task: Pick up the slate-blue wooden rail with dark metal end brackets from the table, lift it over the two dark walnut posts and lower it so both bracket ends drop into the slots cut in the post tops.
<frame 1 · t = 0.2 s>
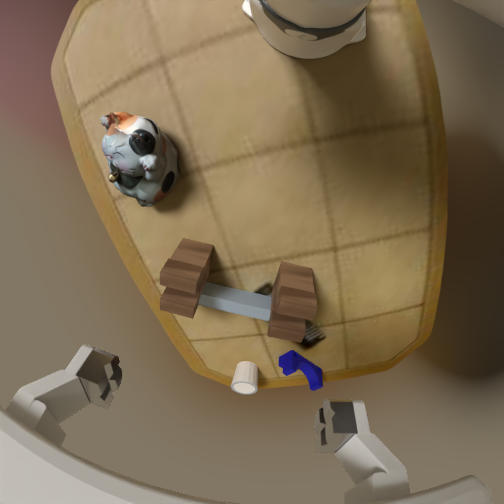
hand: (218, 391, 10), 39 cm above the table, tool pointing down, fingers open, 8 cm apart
cable clip: (301, 362, 69), on the table
headboard posts: (243, 268, 55), on the table
shot glass: (247, 366, 72), on the table
lucky cat figurine: (146, 151, 44), on the table
bed rail: (237, 294, 58), on the table
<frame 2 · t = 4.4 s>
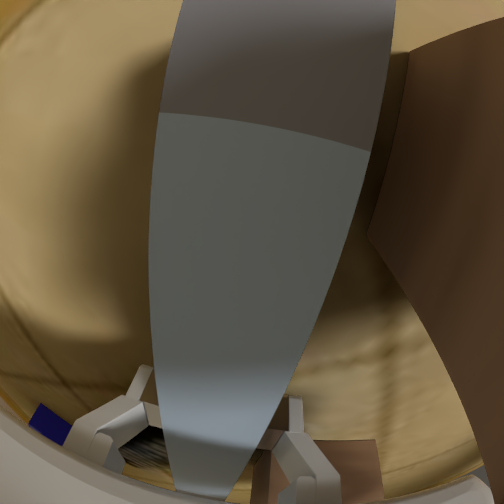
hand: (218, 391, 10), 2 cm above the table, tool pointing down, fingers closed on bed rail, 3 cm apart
cable clip: (56, 425, 21), on the table
headboard posts: (377, 379, 11), on the table
bed rail: (225, 361, 11), on the table, touching gripper
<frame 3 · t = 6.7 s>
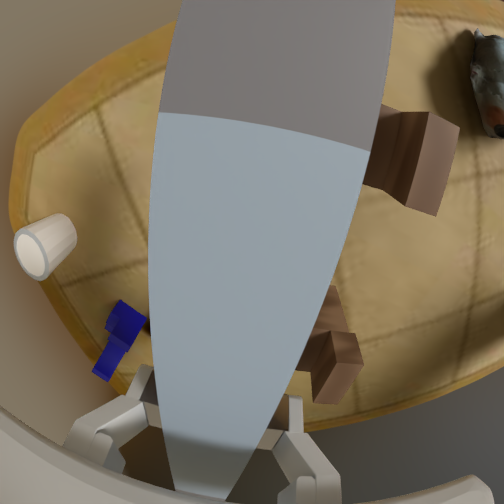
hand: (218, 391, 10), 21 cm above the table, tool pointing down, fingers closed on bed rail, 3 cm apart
cable clip: (121, 329, 38), on the table
headboard posts: (322, 227, 28), on the table
shot glass: (63, 232, 31), on the table
lucky cat figurine: (496, 87, 18), on the table
bed rail: (225, 361, 11), point 19 cm above the table, touching gripper
when the fingers open (11 cm above the table, at t = 9.2 s): bed rail stays where it is, resting on headboard posts.
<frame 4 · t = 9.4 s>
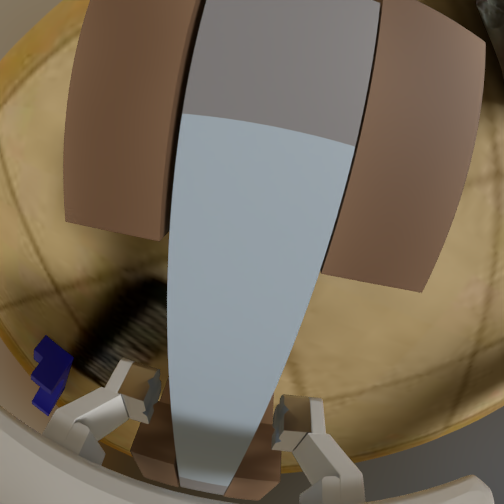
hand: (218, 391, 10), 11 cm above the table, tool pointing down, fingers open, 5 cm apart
cable clip: (56, 363, 29), on the table
headboard posts: (246, 261, 19), on the table
bed rail: (229, 345, 12), point 8 cm above the table, touching headboard posts
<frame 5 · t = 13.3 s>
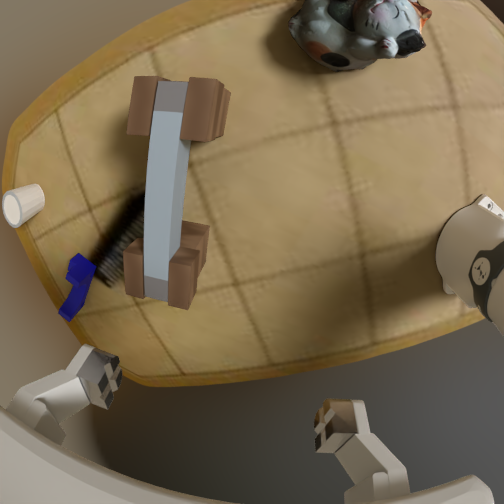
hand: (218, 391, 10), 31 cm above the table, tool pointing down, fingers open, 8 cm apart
cable clip: (81, 280, 48), on the table
headboard posts: (191, 178, 37), on the table
shot glass: (36, 197, 41), on the table
lucky cat figurine: (348, 29, 26), on the table
bed rail: (171, 192, 30), point 8 cm above the table, touching headboard posts
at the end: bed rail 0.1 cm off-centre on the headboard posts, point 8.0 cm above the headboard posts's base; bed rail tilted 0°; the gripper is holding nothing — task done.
